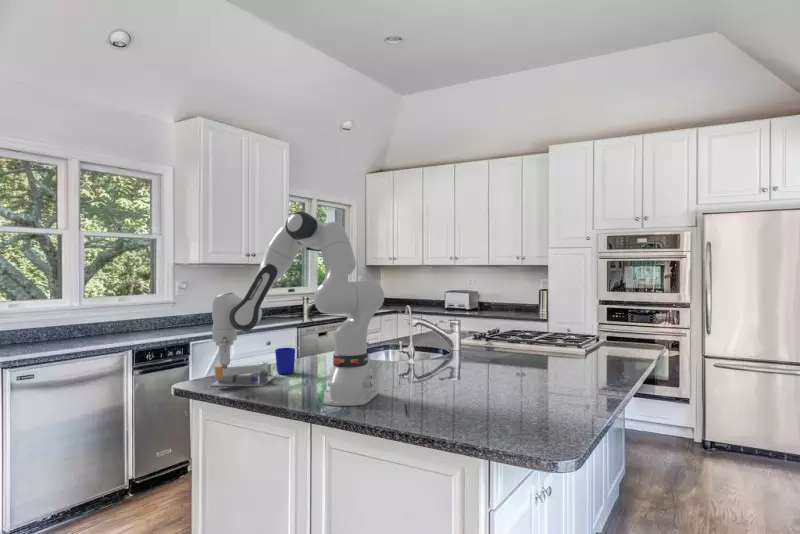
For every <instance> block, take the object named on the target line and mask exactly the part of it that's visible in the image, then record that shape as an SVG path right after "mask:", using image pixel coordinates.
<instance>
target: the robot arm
mask: <svg viewBox="0 0 800 534" xmlns="http://www.w3.org/2000/svg"><path fill="white" fill-rule="evenodd" d="M303 248H306V250H307V251H314V252H321V255H322V260H323V264H324V265H323V266H324V270H325V274H324V275H325V276H324V279H323V281H322V282H321V284H319V285H318V287H317V288H316V289H315V291H314V293H313V294H314V295H313V304H314V306H315V308H316V309H317V311H319V312H320V313H322V314H327V315H345V314H347V318H346V319H345V321H344V323H342V324H341V325H339V326H338V327H337V328H336V329H335V332H334V353H333V358H332V361H333V363H332V364H333V366H332V367H331V368H330V369H329V370H330V371H329V372H330V382H328V383H327V386H328V387H329V389H325V390H324V392H323V405H327V406H336V407H337V406H338V407H339V406H340V407H342V406H343V407H344V406H345V407H347V406H349V407H351V406H353V407H354V406H364V405H366V404H368V403H369V402H371V401H372V400H373V399H374V398H375V397H376V396H377V395H378V394H379V390H378V389H374V376H373V374H374V373H373V372H374V371H373V368H371V367H370V366H369V364H368V363H369V356H368V355H369V354H368V351H367V349H368V348H367V347H368V346H367V345H368V344H367V343H368V342H367V340H368V339H367V338H368V328H369V325H370V324H371V321H372V319H373V317H374V315H375V313H376V312H377V311H378V310H379V309H380V308H381V307H382V306H383V303H384V302H385V293H384V290H383V288H382V286H381V285H380V284H379V283H377V282H372V281H366V280H365V281H361V280H359V281H349V280H348V276H349V275H351V274H352V273H354V271H355V269H356V266H357V260H356V257H355V253H354V251H353V247H352V245H351V242H350V239H349V236H348V234H347V232H346V231H345V228H344V226H343V225H342V224H341V223H339V222H338V221H337V222H335V221H330V222H327V223H323V221H321V220H320V219H319V218H317V217H314V216H313V215H311V214H309V213H307V212H305V211H299V210H298V211H294V212H292V213H291V214H290V215H289V216H288V217H287V219H286V221H285V225H283V226H282V227H280V228H279V229H278V231H277V232H276V233H275V235H274V236H273V238H272V239H271V240H270V241H269V243H268V245H267V248H266V249H265V251H264V253H263V256H262V258H261V262H260V265H259V268H258V270H257V274H256V276H255V278H254V280H253V282H252V284H251V286H250V287H249V289H248V291H247V293H246V295H244V297H240V295H237V294H236V293H234V292H225V293H221V294H217V295H216V296H214V298H213V299H212V300H213V301H212V304H211V305H212V307H211V318H212V322H213V324H212V327H211V339H212V340H211V341H212V342H215V346H218V353H219V361H218V362H219V366H222V367H223V368H225V367H229V366H228V365H230V364H231V346H232V345H234V342H235V341H237V339H238V337H237V336H238V333H237V332H239V331H240V332H248V331H250V330H252V329H254V328H255V327H256V325H257V324H258V323H259V322H260V321H261V319H262V317H263V310H262V307H261V305H262V303H263V301H264V300H265V298H266V296H267V294H268V292H269V291H270V289H271V287H272V286H273V285H274V284H275V283H276V282H277V281H278V280H279V279H281V278H282V277H283V276H284V275H286V273H287V271H288V270H289V269H290V268H291V266H292V264H293V262H294V260H295V258H296V257H297V254H298V253H299V251H300V250H302V249H303Z"/></svg>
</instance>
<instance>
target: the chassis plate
mask: <svg viewBox="0 0 800 534" xmlns="http://www.w3.org/2000/svg"><path fill="white" fill-rule="evenodd" d="M268 373H269V371H268V372H263V373H262V372H261V373H251V374H241V375H231V376H223V377H217V381H215V382H213V383H211V384H210V387H264V386H266V384H268V383H270V382H271V381H272V380H273V379H275V376H271V375H270V376H269V375H268Z"/></svg>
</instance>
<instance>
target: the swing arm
mask: <svg viewBox="0 0 800 534" xmlns="http://www.w3.org/2000/svg"><path fill="white" fill-rule="evenodd" d="M268 365H269V364H268V362H259V364H248V365H239V366H238V365H237V366H236V365H235V366H228V367H225V368H223V367H222V365H215V366H213V367H214V371H213V372H214V378H218V377H223V376H231V375H241V374H251V373H258V374H260V373H261V372H262V373H263V372H268V373H269V366H268Z"/></svg>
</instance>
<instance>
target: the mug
mask: <svg viewBox="0 0 800 534" xmlns="http://www.w3.org/2000/svg"><path fill="white" fill-rule="evenodd" d="M274 351H275V352H274V353H275V362H276V372H277V373H278V375H289V374H293V373H294V371H295V364H296V363H295V361H296V348H294V347H279V348H276V349H275V350H274Z"/></svg>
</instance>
